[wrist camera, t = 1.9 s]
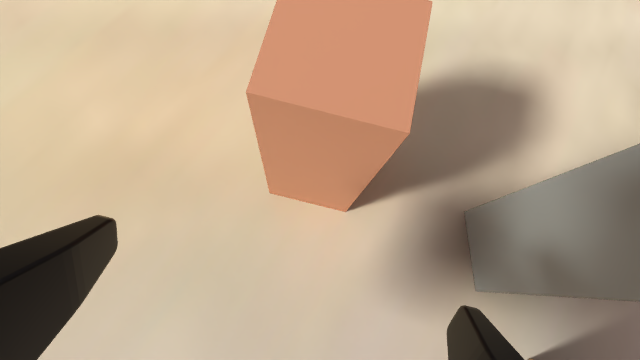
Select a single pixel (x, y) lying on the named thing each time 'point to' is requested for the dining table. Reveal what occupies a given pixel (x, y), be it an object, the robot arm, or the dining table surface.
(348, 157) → the terracotta block
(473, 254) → the slate grey block
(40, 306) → the robot arm
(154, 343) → the dining table surface
